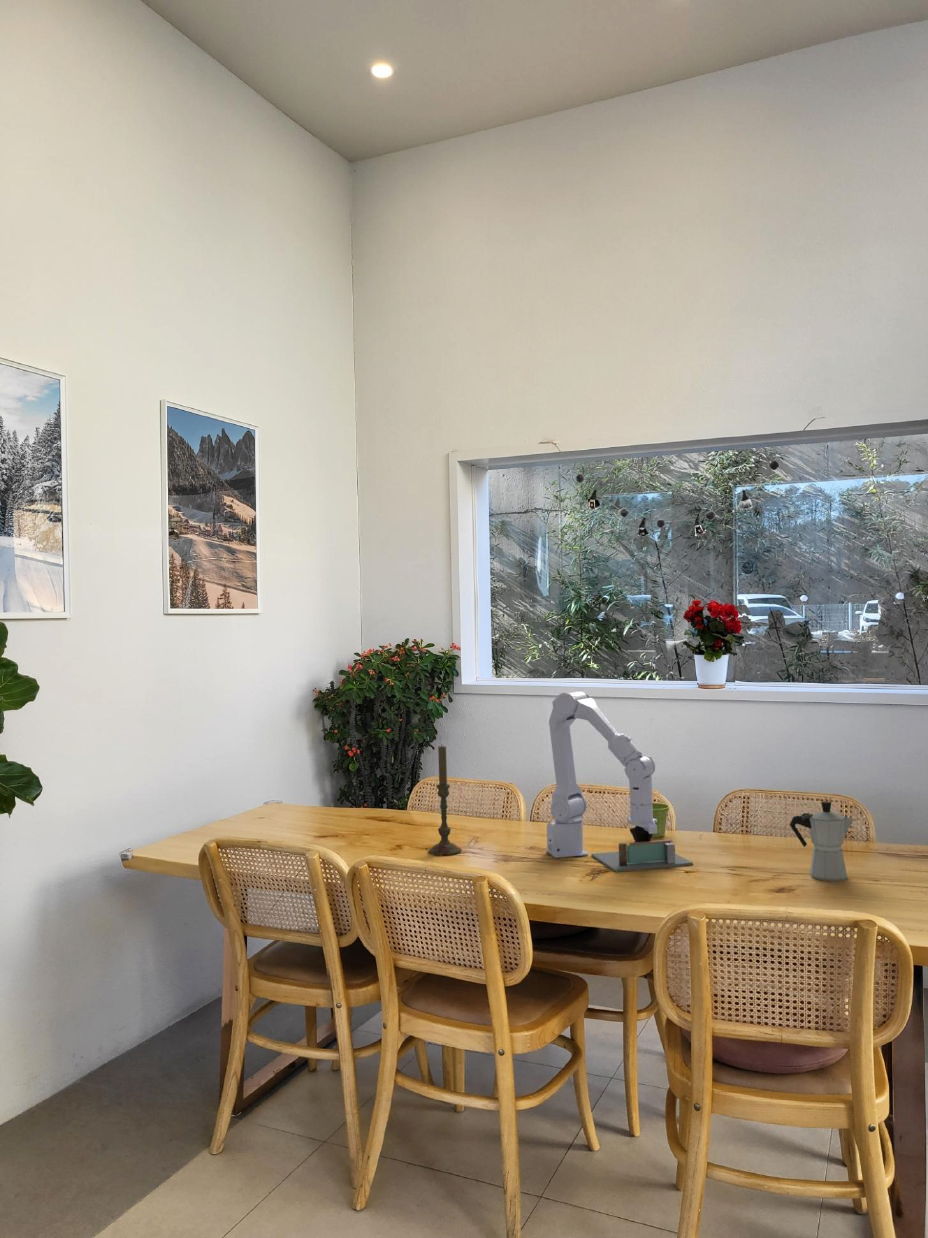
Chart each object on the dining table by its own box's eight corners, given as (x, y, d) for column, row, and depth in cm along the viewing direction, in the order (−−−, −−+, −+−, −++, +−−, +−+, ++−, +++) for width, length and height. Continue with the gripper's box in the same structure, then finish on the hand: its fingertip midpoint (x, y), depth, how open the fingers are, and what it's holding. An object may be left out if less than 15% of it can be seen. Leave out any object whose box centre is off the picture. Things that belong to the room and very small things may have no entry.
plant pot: (670, 839, 267) (669, 809, 267) (637, 839, 269) (636, 808, 269) (670, 832, 276) (669, 802, 276) (637, 831, 278) (637, 802, 278)
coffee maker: (853, 872, 228) (851, 798, 228) (860, 882, 219) (857, 805, 219) (788, 870, 231) (786, 797, 231) (793, 880, 222) (790, 804, 222)
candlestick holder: (423, 855, 257) (420, 745, 257) (435, 847, 265) (433, 741, 265) (454, 857, 254) (451, 746, 254) (466, 849, 262) (463, 742, 262)
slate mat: (615, 872, 234) (615, 869, 234) (591, 856, 250) (591, 853, 250) (692, 865, 239) (692, 862, 239) (664, 849, 255) (664, 847, 255)
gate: (629, 863, 238) (628, 843, 238) (627, 862, 239) (626, 842, 239) (673, 859, 240) (672, 840, 240) (671, 858, 241) (670, 839, 241)
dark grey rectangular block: (668, 866, 238) (667, 845, 238) (664, 864, 240) (664, 843, 240) (675, 865, 238) (674, 844, 238) (671, 864, 240) (671, 842, 240)
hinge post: (621, 868, 237) (620, 845, 237) (618, 866, 239) (617, 843, 239) (628, 868, 237) (627, 844, 237) (625, 866, 239) (624, 842, 239)
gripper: (667, 807, 235) (669, 861, 235) (644, 797, 249) (645, 848, 249) (641, 809, 233) (643, 863, 233) (619, 799, 247) (620, 850, 247)
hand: (642, 856), depth 241 cm, fingers closed
